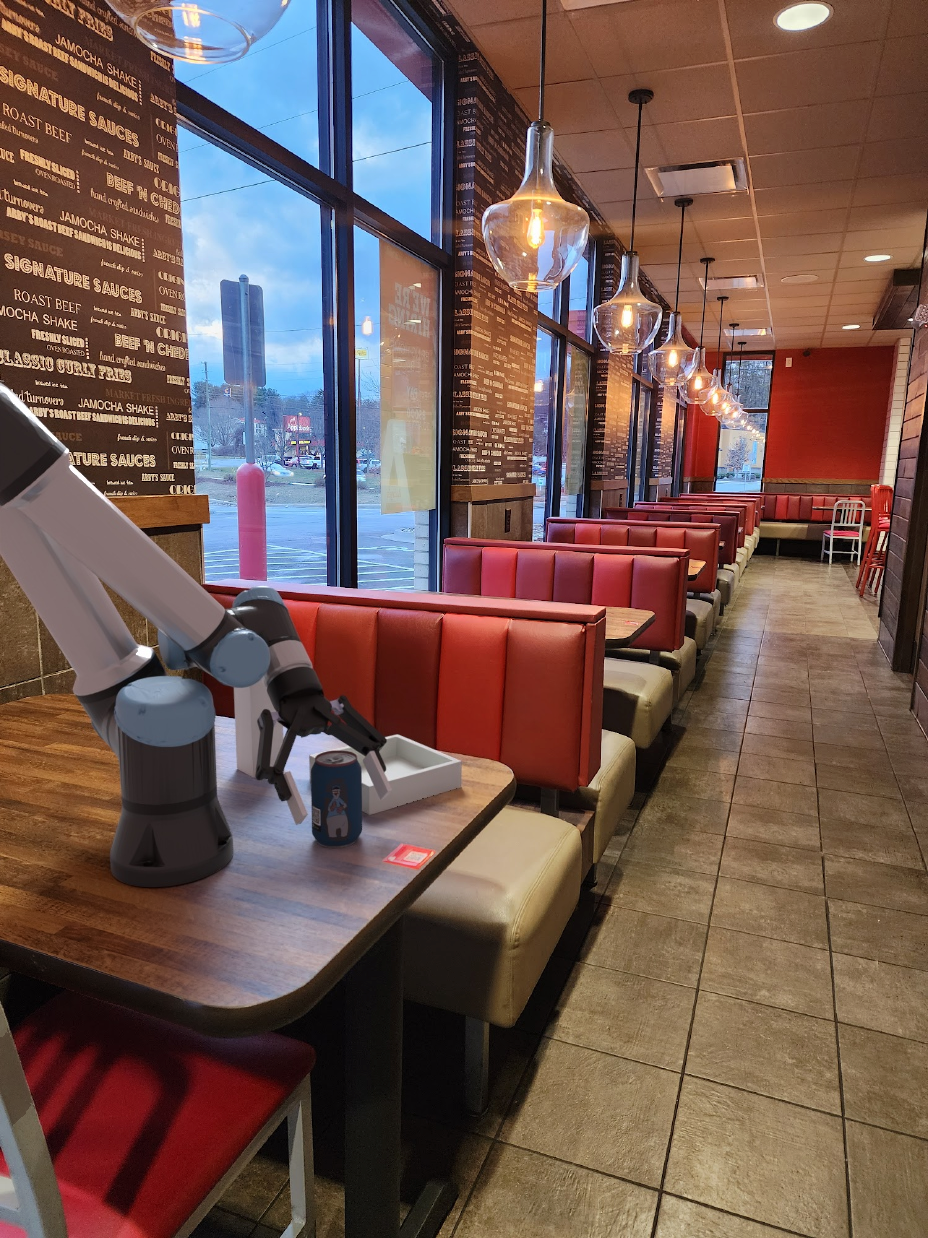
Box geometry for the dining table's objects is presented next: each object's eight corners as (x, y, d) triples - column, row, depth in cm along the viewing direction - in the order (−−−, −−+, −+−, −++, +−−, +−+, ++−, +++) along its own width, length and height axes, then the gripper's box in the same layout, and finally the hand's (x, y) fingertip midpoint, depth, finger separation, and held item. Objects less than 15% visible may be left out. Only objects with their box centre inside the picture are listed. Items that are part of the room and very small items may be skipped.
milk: (284, 770, 137) (282, 645, 134) (252, 778, 133) (249, 650, 130) (267, 761, 142) (264, 640, 138) (235, 768, 138) (231, 644, 134)
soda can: (344, 824, 116) (343, 745, 114) (372, 840, 111) (371, 758, 109) (302, 838, 111) (300, 756, 109) (329, 855, 106) (328, 769, 104)
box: (369, 815, 119) (369, 786, 118) (309, 780, 132) (309, 755, 132) (461, 787, 130) (461, 761, 130) (397, 758, 144) (397, 734, 143)
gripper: (352, 680, 127) (407, 797, 119) (201, 706, 112) (253, 844, 103) (370, 653, 123) (429, 773, 114) (215, 676, 107) (270, 818, 98)
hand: (346, 807), depth 108 cm, fingers open, 13 cm apart
